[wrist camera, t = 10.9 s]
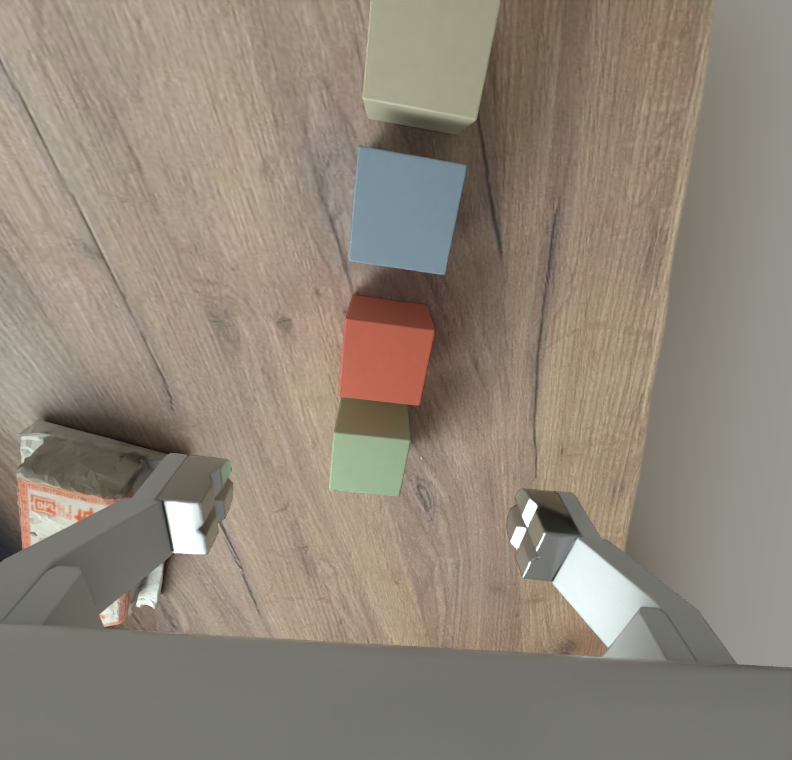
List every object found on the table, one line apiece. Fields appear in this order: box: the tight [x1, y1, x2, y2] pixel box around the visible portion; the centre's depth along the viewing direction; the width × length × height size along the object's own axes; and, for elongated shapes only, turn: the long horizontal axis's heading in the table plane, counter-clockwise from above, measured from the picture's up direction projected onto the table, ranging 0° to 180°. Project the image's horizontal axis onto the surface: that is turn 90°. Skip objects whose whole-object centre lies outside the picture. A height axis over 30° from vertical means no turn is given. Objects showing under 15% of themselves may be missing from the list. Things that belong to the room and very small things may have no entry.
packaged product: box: [15, 420, 168, 626], centre depth 28 cm, size 18×5×10 cm
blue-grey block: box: [349, 146, 467, 275], centre depth 18 cm, size 4×4×4 cm
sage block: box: [329, 397, 411, 496], centre depth 24 cm, size 4×4×4 cm
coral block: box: [339, 295, 435, 406], centre depth 21 cm, size 4×4×4 cm
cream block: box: [363, 0, 501, 135], centre depth 15 cm, size 4×4×4 cm
